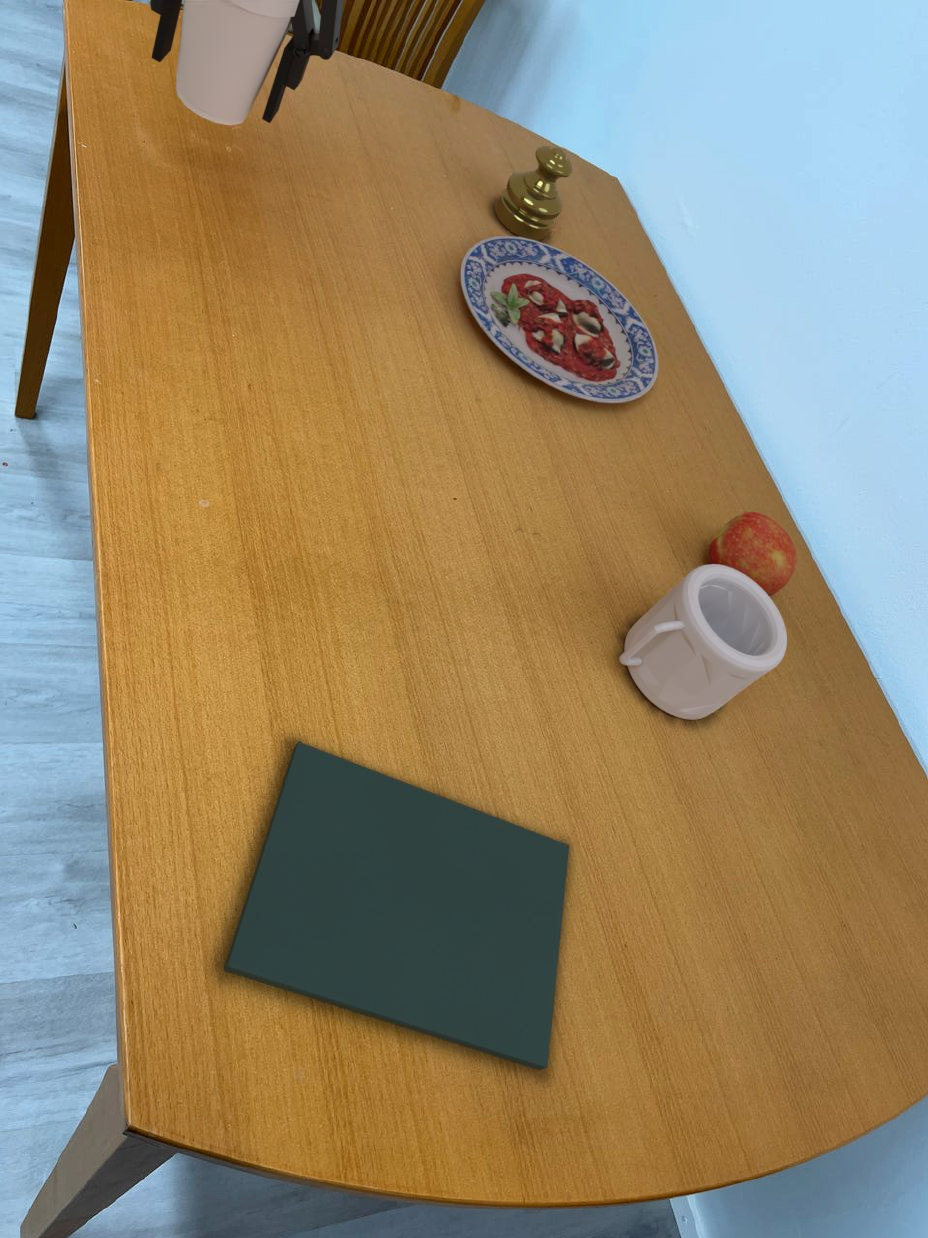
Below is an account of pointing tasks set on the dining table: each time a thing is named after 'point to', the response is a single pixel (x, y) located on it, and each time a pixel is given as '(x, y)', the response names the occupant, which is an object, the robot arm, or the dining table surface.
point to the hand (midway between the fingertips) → (216, 84)
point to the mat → (406, 909)
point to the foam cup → (228, 54)
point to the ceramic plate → (559, 319)
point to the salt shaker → (534, 195)
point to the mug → (704, 642)
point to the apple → (756, 550)
